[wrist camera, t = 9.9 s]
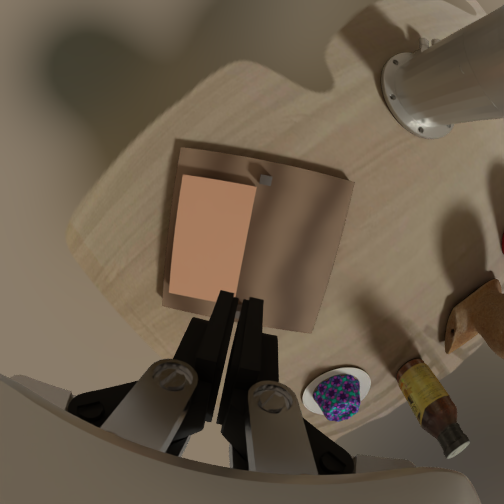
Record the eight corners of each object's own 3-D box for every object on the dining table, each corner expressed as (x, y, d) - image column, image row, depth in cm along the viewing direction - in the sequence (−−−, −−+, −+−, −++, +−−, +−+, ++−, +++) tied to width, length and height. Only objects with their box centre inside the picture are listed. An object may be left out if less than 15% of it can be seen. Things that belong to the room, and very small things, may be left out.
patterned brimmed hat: (382, 372, 39) (392, 392, 34) (343, 415, 42) (349, 435, 37) (326, 356, 38) (333, 379, 33) (289, 404, 41) (291, 427, 36)
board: (350, 181, 30) (360, 183, 27) (309, 327, 36) (313, 341, 33) (184, 148, 29) (176, 145, 26) (165, 300, 35) (157, 312, 32)
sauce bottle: (388, 376, 39) (432, 463, 20) (414, 351, 37) (470, 433, 18) (405, 387, 40) (446, 465, 21) (429, 364, 38) (479, 438, 19)
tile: (182, 174, 27) (185, 174, 29) (168, 292, 32) (171, 288, 33) (256, 186, 28) (256, 186, 29) (233, 305, 32) (234, 300, 33)
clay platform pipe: (497, 260, 32) (553, 292, 18) (494, 312, 35) (538, 350, 21) (439, 296, 34) (496, 347, 20) (440, 349, 37) (481, 401, 23)
